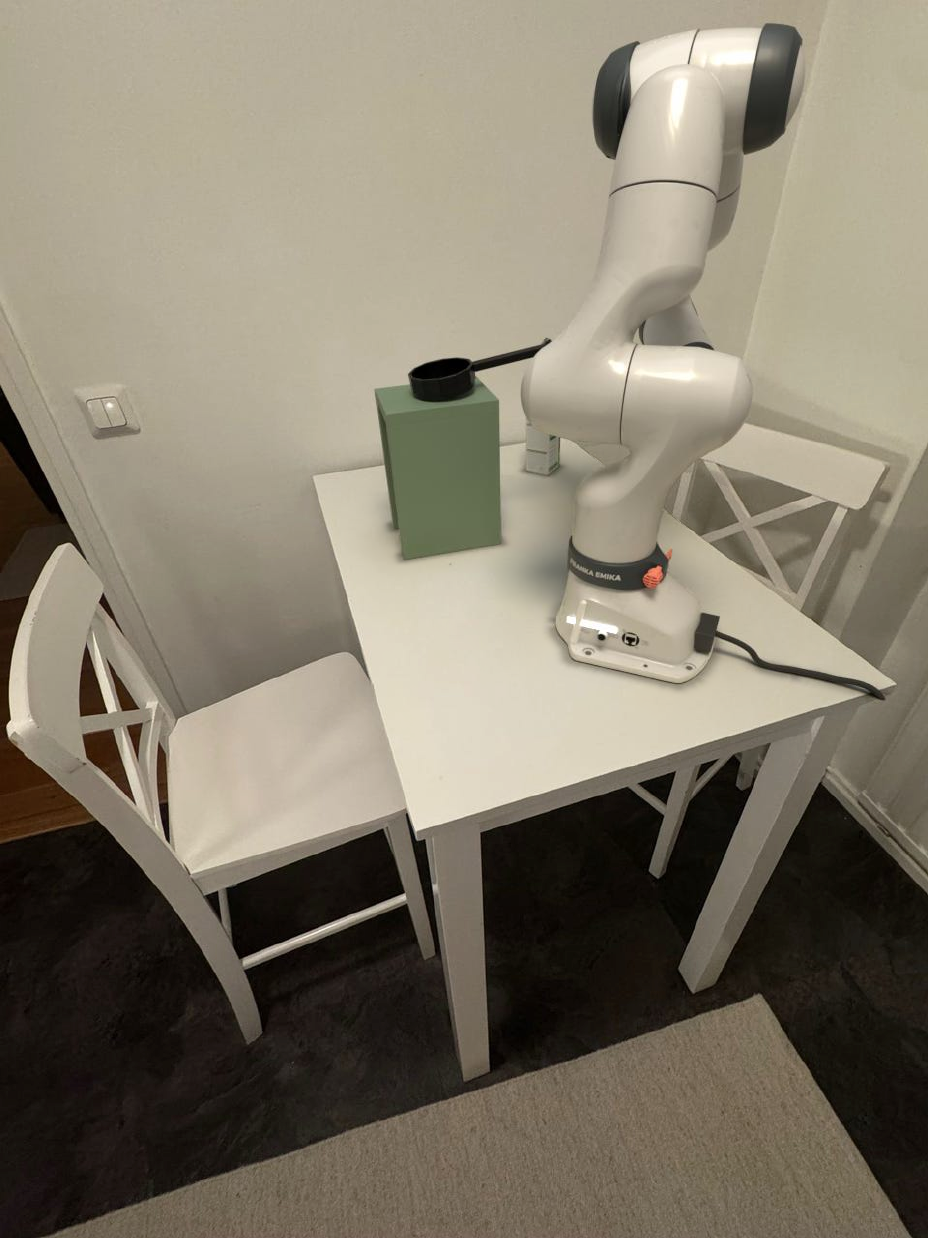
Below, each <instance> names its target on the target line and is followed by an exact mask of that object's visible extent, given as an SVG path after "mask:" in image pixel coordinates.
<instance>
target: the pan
mask: <svg viewBox="0 0 928 1238" xmlns="http://www.w3.org/2000/svg"><path fill="white" fill-rule="evenodd" d="M549 343H551V342H549ZM549 343H545V344H541V343H540V344H541V345H540V344H536V345H533V346H529V347H525V348H521V349H517V350H513V351H508V352H506V353H501V354H497V355H494V356H488V357H485V358H481V359H478V360H473V361H472V360H471V359H470V358H465V357H459V356H458V357H447V358H446V357H445V358H438V359H435V360H431V361H427V362H425V363H422V364H420V365H417V366H415V367H413V368H412V369H411V370H410V371H409V372H408V373H407V377H408V382H409V384H410V387H411V390H412V393H413V396H414V397H415V398H416V399H419V400H425V401H435V400H443V399H448V398H452V397H456V396H459V395H461V394H464V393H466V392H468V391H469V390H471V389H472V388H473V387H474V386H475V379H476V377H477V376H476V373H477V372H481V371H485V370H490V369H493V368H497V367H501V366H505V365H509V364H512V363H517V362H521V361H525V360H528V359H532V358H533V357H534V356H535V355H536V354H537V353H538V352H539V351H540V350H541V349H542V348H543V347H545V346H546V345H548V344H549ZM475 376H476V377H475Z"/></svg>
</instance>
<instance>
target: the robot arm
mask: <svg viewBox="0 0 928 1238" xmlns="http://www.w3.org/2000/svg"><path fill="white" fill-rule="evenodd" d="M805 79H806V59H805V53H804V50H803V38H802V36H801V35H800V33H799V32H798V29H797V28H796V27H795V26H794V25H793V26H792V25H789V24H783V23H775V22H774V23H773V22H766V23H765V24H764V25H763V27H750V26H749V27H744V26H743V27H723V28H712V29H711V28H710V29H704V30H701V29H700V28H696V29H691V30H685V31H680V32H676V33H672V34H667V35H665V36H661V37H658V38H654V39H651V40H648V41H646V42H643V43H640V41H639V40H636V41H632V42H630V43H628V44H625V45H623V46H621V47H618V48H617V49H615V50H613V51H612V52H610V53H609V54H608V56H607V58H606V60H605V61H604V62H603V64H602V65H601V67H600V68H599V70H598V72H597V77H596V81H595V85H594V90H593V95H592V96H593V97H592V102H591V122H592V123H591V124H592V128H593V136H594V141H595V144H596V147H597V148H598V149H599V150H600V152H601V153H602V154H603V155H604V156H605V157H606V158H607V159H610V160H612V161H614V165H613V170H612V176H611V180H610V187H609V193H608V200H607V208H606V215H605V222H604V228H603V232H602V233H603V234H602V238H601V239H602V240H601V245H600V250H599V256H598V260H597V264H596V269H595V273H594V276H593V279H592V283H591V286H590V289H589V291H588V293H587V295H586V297H585V300H584V301H583V303H582V305H581V307H580V308H579V309H578V311H577V313H576V315H575V316H574V317H573V318H572V320H571V321H570V323H569V324H568V325H567V326H566V327H565V329H564V330H562V332H561V333H560V334H559V335H553V337H552V338H550V337H547V336H544V337H543V338H542V341H541V342H540V344H539V345H541V344H545V343H549V342H551V343H549V344H548V345H546V346H545V347H543V348H542V349H541V350H540V351H539V352H538V353H537V354H536V355H535V356H534V357H533V358H531V360H530V361H529V362H528V364H527V366H526V369H525V370H524V373H523V376H522V380H521V384H520V385H521V386H520V402H521V408H522V411H523V413H524V416H525V419H526V418H527V420H528V421H529V423H530V425H531V426H532V427H533V428H534V429H535V430H538V431H541V432H544V433H547V434H550V435H553V436H556V437H560V439H564V440H567V441H576V442H583V443H584V442H585V443H597V444H607V445H615V446H616V445H618V446H621V447H625V448H627V449H629V454H628V455H626V456H625V457H624V458H622V459H620V460H618V461H616V462H613V463H610V464H607V465H604V466H601V467H599V468H597V469H595V470H594V471H592V472H590V473H589V474H587V475H586V476H585V477H584V478H583V479H582V480H581V481H580V483H579V484H578V486H577V487H576V491H575V495H574V508H573V520H572V521H573V523H572V535H570V536H569V540H568V547H567V552H566V553H567V554H566V571H567V582H566V585H565V589H564V594H563V598H562V601H561V604H560V607H559V609H558V612H557V613H556V616H555V623H554V624H555V628H556V631H557V633H558V634H559V636H560V637H561V638H562V640H563V641H564V642H565V644H566V645H567V648H568V652H569V656H570V658H572V659H573V660H575V661H577V662H580V663H586V664H589V665H595V666H598V667H603V668H607V669H611V670H616V671H621V672H625V673H629V674H633V675H638V676H643V677H647V678H650V679H655V680H659V681H660V680H661V681H664V682H669V683H674V684H682V683H685V682H688V681H689V680H692V679H694V678H695V677H696V676H697V675H699V674H700V673H701V671H703V669H704V668H705V667H706V666H707V664H708V662H709V661H710V659H711V657H712V654H713V651H714V647H715V642H716V638H718V639H721V640H723V641H725V642H728V643H731V644H733V645H735V646H737V647H739V648H741V649H743V650H744V651H746V652H747V653H748V654H749V655H750V657H751V659H752V660H753V661H754V663H755V664H757V665H758V666H760V667H762V668H764V669H767V670H770V671H777V672H784V673H785V672H786V673H792V674H797V675H802V676H806V677H812V678H817V679H821V680H825V681H829V682H833V683H839V684H844V685H850V686H854V687H859V688H862V689H865V690H866V691H868V692H869V693H871V694H872V695H874V697H875V698H876V699H877V700H879V701H886V697H885V696H884V694H883V693H882V692H881V691H880V690H879V689H878V688H877V687H876V686H874V685H873V684H871V683H869V682H867V681H864V680H861V679H856V678H850V677H844V676H840V675H834V674H829V673H826V672H821V671H817V670H812V669H806V668H802V667H796V666H791V665H785V664H784V665H783V664H776V663H771V662H768V661H765V660H763V659H762V658H760V656H759V655H758V653H757V651H755V649H754V648H753V647H752V646H751V645H750V644H748V643H746V642H744V641H742V640H740V639H739V638H736V637H734V636H731V635H728V634H726V633H724V632H721V631H718V627H719V623H720V619H721V616H720V615H715V614H711V613H706V612H704V611H703V612H702V609H701V604H700V601H699V598H698V597H697V596H696V595H695V594H693V593H692V592H691V591H690V590H689V589H688V588H686V587H685V586H684V585H683V584H682V583H681V582H680V581H679V580H678V579H677V578H676V577H675V576H673V574H672V573H670V572H669V571H668V568H669V561H670V560H671V559H672V554H673V549H672V548H670V549H669V550H668V552H667V553H666V554H665V553H664V552H663V550H662V549H661V546H660V545H659V543H658V536H659V530H660V527H661V526H660V525H661V522H662V517H663V513H664V509H665V507H666V503H667V499H668V498H669V495H670V493H671V491H672V488H674V485H675V484H676V482H677V481H678V480H679V479H680V477H681V476H682V475H683V474H684V473H685V472H687V470H688V469H689V468H690V467H691V466H692V465H694V463H696V462H697V461H699V460H700V459H702V458H703V457H705V456H706V455H708V454H710V453H712V452H714V451H715V450H717V449H720V448H721V447H723V446H724V445H726V444H728V443H729V442H730V441H731V440H732V439H733V438H734V437H735V436H737V435H738V433H739V431H740V430H741V429H742V428H743V426H744V424H745V423H746V421H747V419H748V416H749V414H750V412H751V408H752V404H753V397H754V389H753V388H754V387H753V382H752V381H753V380H752V377H751V374H750V372H749V369H748V367H747V366H746V364H745V362H744V361H743V359H741V358H740V357H739V356H737V355H733V354H728V353H725V352H721V351H719V350H715V348H714V345H713V344H712V342H711V340H710V338H709V335H708V334H707V332H706V330H705V328H704V326H703V324H702V322H701V320H700V317H699V314H698V311H697V309H696V307H695V304H694V302H693V300H692V297H691V295H692V293H693V292H694V291H695V289H697V287H698V286H699V284H700V282H701V280H702V278H703V275H704V273H705V272H704V271H705V266H706V261H707V255H708V253H709V252H710V251H712V250H713V249H715V248H716V247H718V245H720V244H721V243H722V242H723V241H724V240H725V239H726V238H727V236H728V235H729V233H730V232H731V230H732V229H731V228H732V226H733V223H734V221H735V216H736V213H737V210H738V205H739V199H740V194H741V193H740V192H741V186H742V178H743V168H744V160H745V159H744V158H745V156H747V155H750V154H753V153H757V152H760V151H762V150H766V149H767V148H769V147H771V146H773V145H774V144H775V143H776V142H777V141H778V140H779V139H780V138H781V137H782V136H783V135H785V133H786V130H787V127H788V125H789V124H790V122H791V120H792V119H793V117H794V115H795V113H796V111H797V108H798V106H799V104H800V102H801V101H800V100H801V98H802V95H803V91H804V86H805ZM637 331H638V338H639V340H640V343H641V344H639V343H636V342H634V341H633V340H634V339H635V335H636V333H637Z"/></svg>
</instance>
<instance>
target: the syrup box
mask: <svg viewBox="0 0 928 1238" xmlns="http://www.w3.org/2000/svg"><path fill="white" fill-rule="evenodd" d="M560 458H561V438H560V437H556V436H553V435H550V434H547V433H544V432H541V431H538V430H535V429H534V428H533V427H532V426H531V425H530V423H529V421H528V420H527V418H526V417H525V471H527V472H530V473H533V474H539V475H544V476H550V474H551V473H552V472H553V471H555V470H556V469H558V467H560V462H561V461H560Z"/></svg>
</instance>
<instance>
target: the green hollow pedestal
mask: <svg viewBox="0 0 928 1238" xmlns="http://www.w3.org/2000/svg"><path fill="white" fill-rule="evenodd" d="M475 377H476V379H475V386H474V387H473V388H472V389H471V390H469V391H468V392H466V393H464V394H461V395H459V396H456V397H452V398H448V399H443V400H435V401H425V400H419V399H416V398H415V397H414V396H413V393H412V390H411V387H410V383H409V384H402V385H393V386H385V387H378V388H373V389H374V397H375V405H376V412H377V420H378V427H379V434H380V441H381V448H382V456H383V465H384V470H385V472H384V473H385V478H386V485H387V492H388V500H389V501H388V502H389V508H390V509H389V510H390V514H391V515H390V517H391V521H392V522H391V523H392V528H393V529H394V530H396V529H397V530H398V531H399V539H400V546H401V552H402V553H401V554H402V558H403V560H404V561H407V560H412V559H414V560H415V559H418V558H425V557H426V558H427V557H432V556H437V555H443V554H448V553H454V552H460V551H461V552H462V551H466V550H471V549H472V550H473V549H478V548H483V547H484V548H485V547H489V546H495V545H501V544H502V531H501V530H502V522H501V521H502V517H501V516H502V515H501V512H502V511H501V510H502V508H501V449H500V447H501V445H500V443H501V442H500V441H501V439H500V435H501V434H500V399H499V398H498V397H497V396H496V395H495V394H494V393H493V392H492V391H491V390H490V388H488V386H487V385H485V384H484V383H483V382H482V380H480V378H479V377H478V376H476V375H475Z"/></svg>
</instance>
